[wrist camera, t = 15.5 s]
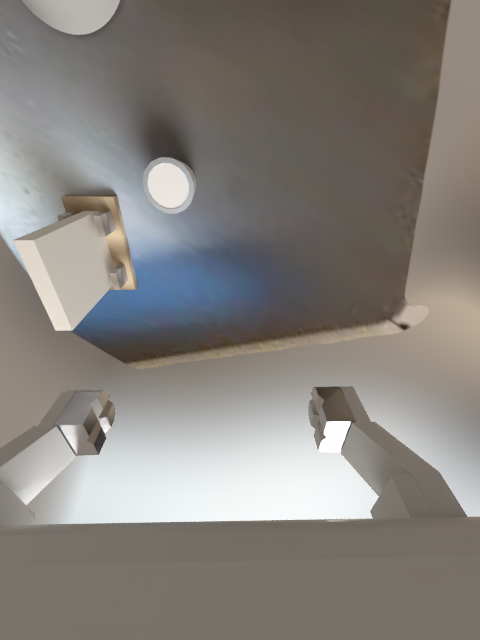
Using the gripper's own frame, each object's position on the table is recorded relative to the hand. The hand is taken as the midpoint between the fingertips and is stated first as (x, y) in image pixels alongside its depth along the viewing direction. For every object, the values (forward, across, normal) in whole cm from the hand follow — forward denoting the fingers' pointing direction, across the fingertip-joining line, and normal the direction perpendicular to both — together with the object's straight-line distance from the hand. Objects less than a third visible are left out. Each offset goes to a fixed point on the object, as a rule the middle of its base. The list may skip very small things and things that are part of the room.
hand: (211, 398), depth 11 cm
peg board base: (+39, +22, +6) cm, 45 cm away
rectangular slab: (+38, +22, +6) cm, 44 cm away
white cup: (+39, +8, -4) cm, 40 cm away
